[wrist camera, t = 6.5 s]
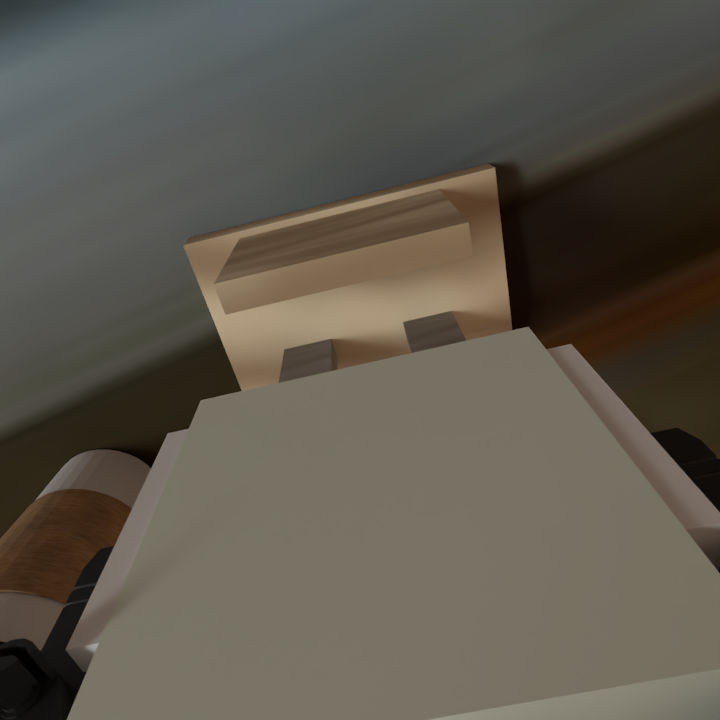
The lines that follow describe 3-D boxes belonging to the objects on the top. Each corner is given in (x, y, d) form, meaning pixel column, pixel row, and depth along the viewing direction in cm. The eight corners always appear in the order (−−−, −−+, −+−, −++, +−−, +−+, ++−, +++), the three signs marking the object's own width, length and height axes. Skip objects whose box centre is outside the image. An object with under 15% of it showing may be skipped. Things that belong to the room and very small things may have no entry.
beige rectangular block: (200, 400, 16) (38, 787, 7) (528, 326, 15) (784, 657, 7) (234, 475, 18) (130, 875, 9) (536, 410, 17) (756, 776, 8)
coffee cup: (166, 424, 30) (33, 707, 16) (198, 534, 34) (110, 831, 20) (15, 436, 30) (-242, 729, 16) (64, 544, 34) (-110, 850, 20)
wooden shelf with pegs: (189, 237, 25) (142, 292, 19) (487, 163, 24) (542, 195, 18) (289, 491, 32) (279, 589, 26) (519, 442, 31) (564, 533, 25)
